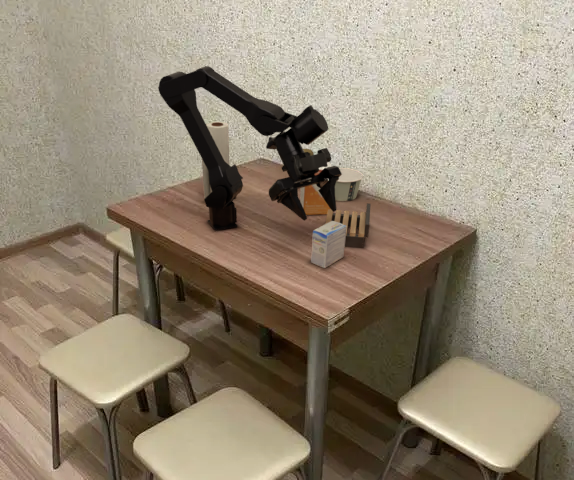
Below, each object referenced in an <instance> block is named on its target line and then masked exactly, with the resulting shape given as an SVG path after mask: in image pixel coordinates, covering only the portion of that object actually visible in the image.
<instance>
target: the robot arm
mask: <svg viewBox="0 0 574 480" xmlns="http://www.w3.org/2000/svg"><path fill="white" fill-rule="evenodd" d="M157 88H158V93H159V95H160V96H161V98H162V100H163V101H164V102H165V104H166V106H167V107H168V108H169V109H170V110H172V111H173V112H174V113H175V114H176V115H177V116H179V117H180V119H181V122H182V123H183V125H184V127H185V129H186V132H187V133H188V136H189V137H190V138H191V140H192V142H193V145H194V146H195V148H196V150H197V152H198V154H199V155H200V158H201V161H202V160H203V162H204V163H205V165H206V167H207V169H208V174H209V184H210V187H211V190H212V192H211V193H210V194H209V195H208V196H207V197H206V198H205V199H204V198H203V202H204V204H205V206H206V208H208V216H209V217H208V218H209V219H207V224H208V225H209V226H210V227H211V228H212V229H213V230H214V231H215V232H216V231H222V230H229V229H237V228H238V224H237V222H238V213H237V210H238V209H237V207H236V206H235V205H236V204H235V202H234V201H235V200H236V199H237V196H238V195H239V194H240V193H241V192H242V190H243V187H244V183H243V179H244V177H243V176H242V175H241V174H240V171H239V169H238V166H237V165H236V164H233V165H231V164H230V163H229V164H230V165H229V164H227V163H226V162H225V161H224V159H223V157H222V155H221V153H220V151H219V149H218V147H217V145H216V143H215V141H214V139H213V137H212V135H211V133H210V131H209V129H208V128H207V126H206V124H207V123H206V122H205V120H204V118H203V116H202V114H201V112H200V110H199V108H198V103H197V92H196V90H197V89H200V88H202V89H204V90H205V91H207V92H208V93H210V94H211V95H213V96H214V97H216V99H217V98H218V99H219V100H220V101H222V102H224V103H225V104H227V105H228V106H230V107H231V108H233V109H234V110H235V111H236V112H237V111H238V112H239V113H240V114H241V115H243V117H245V119H246V120H247V122H248V123H249V125H250V126H251V127H252V128H254V130H256V131H257V132H258V133H259V134H260V135H262V136H263V137H268V141H267V142H266V146H265V148H266V149H267V150H274V151H275V150H276V151H277V154H278V156H279V158H280V160H281V163H282V167H281V170H282V173H283V172H286V173H287V175H288V176H287V177H283V178H279V179H277V180H276V181H275V182H274V183H273V184H272V185H271V186H270V188H269V189H268V196H269V199H270V200H271V202H275V201H276V203H277V204H282V205H283V206H284V207H286V208H287V209H289V210H290V211H291V212H293V213H294V214H295V215H296V216H298V218H300V219H301V220H302V221H307V220H308V216H307V215H306V213H305V211H304V209H303V206H302V204H301V202H300V197H299V191H298V189H301V188H302V187H306V186H310V185H314V184H316V185H317V186H318V187H319V188H320V189H319V190H318V191H319V192H320V194H321V195H322V197H323V198H324V200H325V201H326V203H327V204H328V206H329V207H330V209H331V210H332V211H333V213H335V212H336V210H337V202H336V201H337V200H335V184H336V182H337V181H338V180H339V177H340V176H341V175H342V173H341V171H340V169H339V168H340V167H339V166H337V165H332V166H331V167H327V166H328V164H327V162H330V163H331V161H332V155H331V152H330V150H329V149H328V147H325V148H321V149H318V150H317V153H316V154H314V155H310V153H308V152H304V150H303V149H304V148H303V146H302V145H306V146H309V145H310V144H312V143H313V142H315V141H316V140H317V139H318V138H320V137H321V136H323V135H324V134H325V133H326V132H328V131H329V124H328V122H327V120H326V117H325V116H324V115H323V114H321V113H320V112H319V111H318V110H317V109H315V108H314V107H313V105H311V104H309V105H308V106H307V107H306V108H304V109H303V111H302V112H300V113H299V114H298V115H294V114H292V113H290V112H287V111H285V110H284V108H282V107H281V106H280V105H278V104H275V103H273V102H271V101H269V100H266V99H261V98H258V97H255V96H253V95H252V94H250V93H249V92H247V91H246V90H244V89H242V88H241V87H239V86H238V85H236V83H234V82H232V81H230V80H229V79H228V78H226V77H224V76H223V75H222V74H220V73H218V72H217V71H215V69H214V68H213V67H211V66H209V65H205V66H203V67H199V68H197V69H196V70H194V71H191V72H188V73H186V72H183V71H175V72H173V73H170V74H167V75H165V76H162V77H161V78H160V80H159V83H158V87H157ZM276 133H278V134H277V135H275V136H273V135H274V134H276ZM320 167H327V168H324V169H323V170H322V171H321V172H320V173H319V174H318V175H315V173H317V172H318V171H319V168H320ZM309 181H310V182H309Z"/></svg>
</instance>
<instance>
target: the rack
mask: <svg viewBox="0 0 574 480" xmlns="http://www.w3.org/2000/svg"><path fill="white" fill-rule="evenodd" d="M371 204H372V203H366V207H365V211H360V214H358V211H356V210H355V211H354V210H352V213H351V214H350V210H344V211H343V213H342V209H336V211H335V212H333V211H332V210H331V209H328V213H327V214H326V218H325V223H324V225H325V224H327V223H329V222H331V221H335V222H338V223H341V224H343V225H346V226H347V228H346V238H345V247H344V248H357V249H364V244H365V238H369V234H370V233H369V232H370V224H371V223H370V222H371ZM348 228H350V229H349V233H348ZM357 228H358V234H357V233H356V232H357Z"/></svg>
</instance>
